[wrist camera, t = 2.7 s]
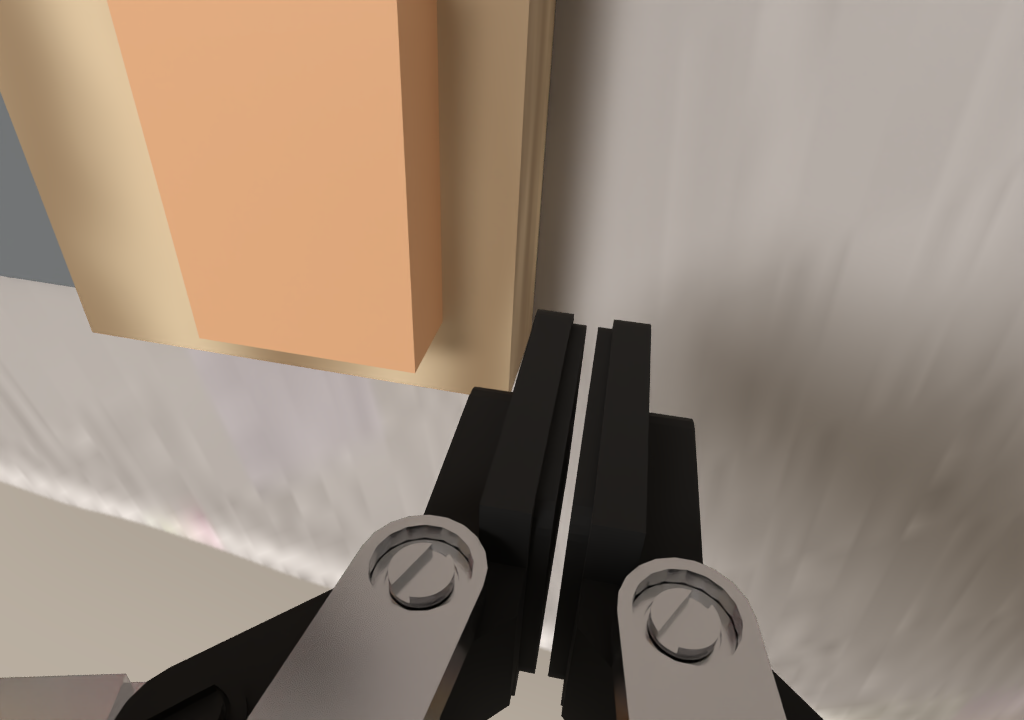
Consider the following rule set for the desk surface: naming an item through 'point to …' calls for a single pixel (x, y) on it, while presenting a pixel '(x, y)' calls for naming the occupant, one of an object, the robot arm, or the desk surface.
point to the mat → (25, 217)
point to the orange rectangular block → (297, 168)
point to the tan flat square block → (143, 224)
